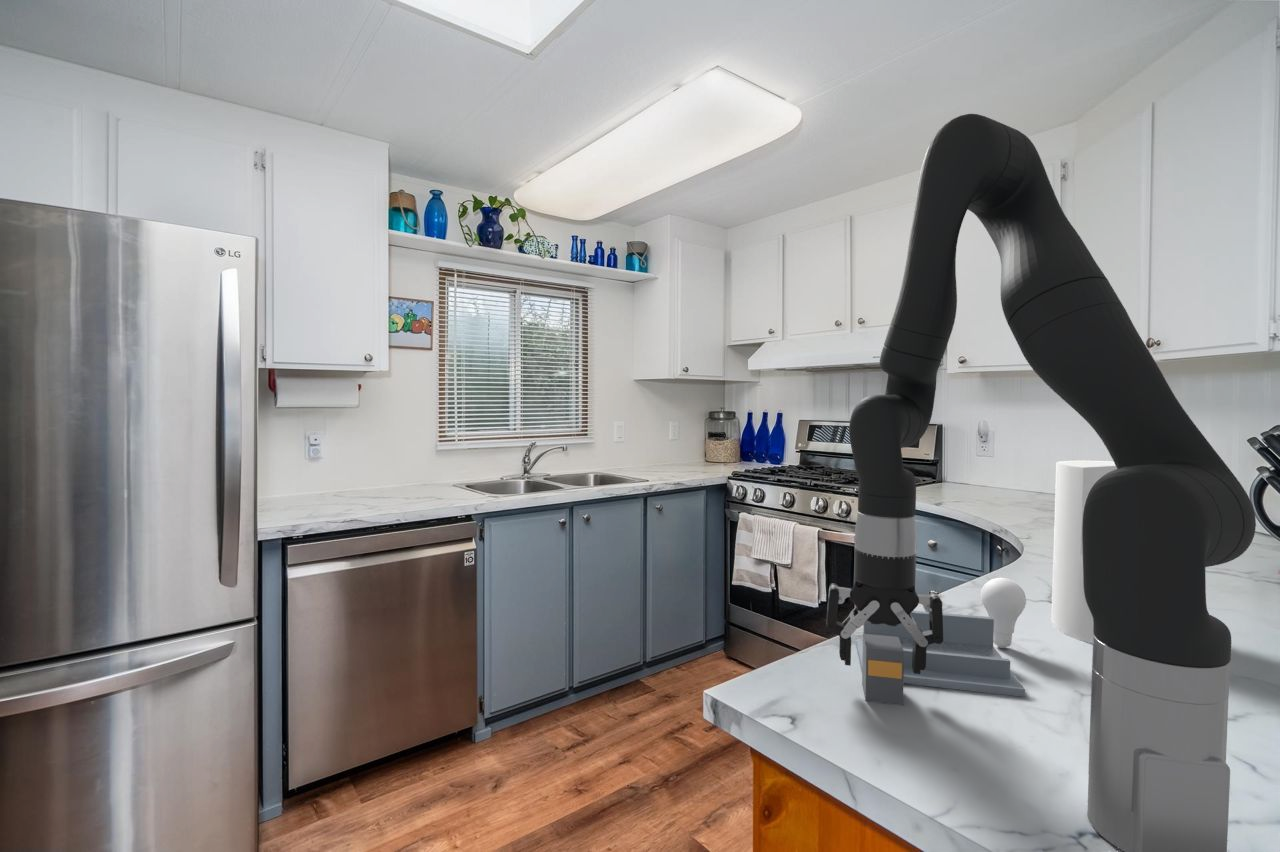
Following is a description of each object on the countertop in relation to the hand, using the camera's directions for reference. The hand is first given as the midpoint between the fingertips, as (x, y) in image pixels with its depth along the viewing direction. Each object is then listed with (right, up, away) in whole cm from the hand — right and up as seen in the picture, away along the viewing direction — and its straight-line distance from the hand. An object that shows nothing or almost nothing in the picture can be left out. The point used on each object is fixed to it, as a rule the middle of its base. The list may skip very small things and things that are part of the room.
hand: (881, 667), depth 82 cm
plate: (+10, -2, +8) cm, 13 cm away
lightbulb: (+25, -3, +15) cm, 29 cm away
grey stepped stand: (+10, -3, +7) cm, 13 cm away
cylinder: (+47, -3, +21) cm, 52 cm away
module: (0, -3, 0) cm, 3 cm away
